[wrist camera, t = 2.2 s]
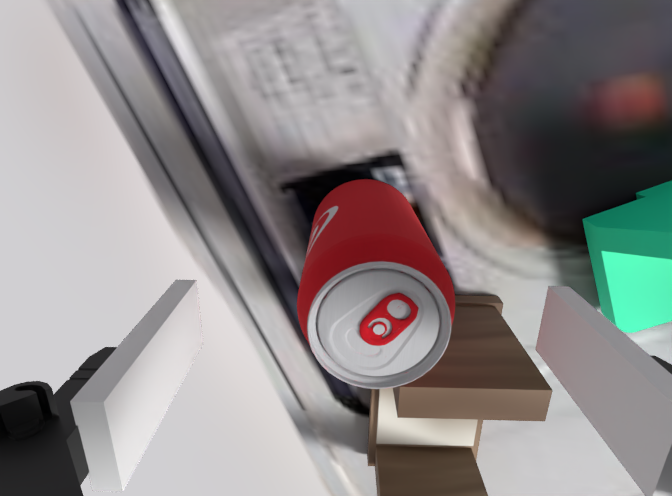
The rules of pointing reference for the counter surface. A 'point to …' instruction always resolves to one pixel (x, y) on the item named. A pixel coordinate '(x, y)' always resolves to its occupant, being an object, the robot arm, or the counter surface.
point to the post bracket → (454, 407)
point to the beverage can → (373, 289)
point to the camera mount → (634, 259)
